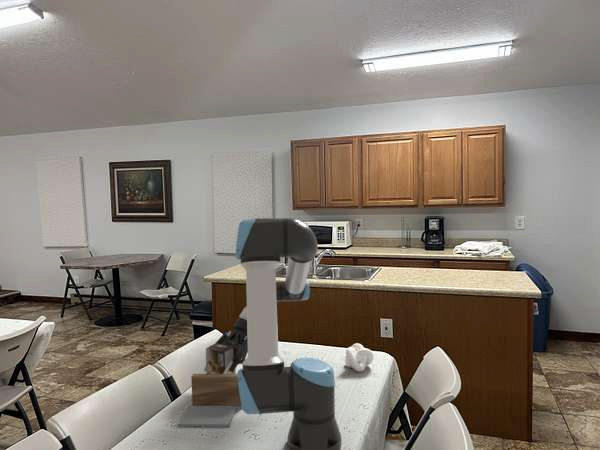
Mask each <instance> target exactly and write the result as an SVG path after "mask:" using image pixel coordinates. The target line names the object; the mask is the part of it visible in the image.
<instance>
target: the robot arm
mask: <svg viewBox="0 0 600 450" xmlns="http://www.w3.org/2000/svg"><path fill="white" fill-rule="evenodd" d="M237 228H238V229H237V235H236V242H235V243H236V244H235V259H237V260H240V266H241V267H242V268H243V269H244V270H245V278H246V279H245V281H246V282H245V284H246V285H245V286H246V289H245V290H246V306H245V307H243V310H242V311H241V313H240V314H239V317H238V318H237V319H236V321H235V322H234V324H233V329H232V330H229V329H228V328H227V329H226V330H225V331H224V332H223V334H222V335H221V336H220V337H219V339H218V340H217V341H216V342H215V343H214V344H216V343H217V344H223V345H228V346H233V345H235V346H234V347H235V352H234V358H233V360H232V361H230V363H229V365H228V366H227V368H226V370H225V371H224V373H223V374H231V373H233V372H234V370H235V368H236V369H237V366H238V365H242V368H240V369H238V370H237V373H236V374H237V375H238V385H239V393H240V399H241V405H240V406H241V408H242V410H243V412H244V414H246V415H259V416H261V415H262V414H276V413H289V412H290V413H291V412H292V414H293V418H292V421H291V423H290V427H289V429H288V430H289V431H288V433H287V447H288V450H341V448H342V433H341V431H340V427H339V425H338V423H337V419H336V414H335V413H336V411H335V409H336V408H335V407H336V404H335V403H336V401H335V385H336V381H335V380H336V379H335V371H334V369H333V366H331V364H329V363H328V362H326V361H324V360H321V359H319V358H313V357H300V358H296V359H294V360H293V364H292V363H291V364H292V367H290V366H285V360H284V359H283V358H282V357H281V355H279V339H278V338H279V336H278V334H279V333H278V331H279V330H278V329H279V328H278V308H277V307H278V303H279V302H302V301H307V300H309V298H310V295H311V294H310V292H311V288H310V283H309V281H308V280H307V279H308V276H309V271H310V268H311V264H312V261H313V260H314V259H315V258H316V256H317V252H318V249H319V247H318V246H319V245H318V240H317V238H316V235H315V233H314V232H313V230H312V228H310V226H308V225H307V224H306V223H304V222H303V221H301V220H299V219H296V218H292V217H286V218H285V217H284V218H277V217H275V218H274V217H273V218H269V217H268V218H256V217H255V218H250V219H249V218H248V219H242V220H241V221H240V222H239V225H238V227H237ZM281 258H287V266H286V273H285V279H284V280H281V281H280V280H278V281H277V274H276V273H277V272H276V270H277V268H278V267H280V265H281ZM277 302H278V303H277ZM233 361H234V362H233ZM202 370H203V371H204V372H206V373H207V370H206V364H205V365H204V367H203V368H202Z"/></svg>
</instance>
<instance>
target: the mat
mask: <svg viewBox="0 0 600 450" xmlns="http://www.w3.org/2000/svg"><path fill="white" fill-rule="evenodd" d="M236 411H237V406H199V405H192V406H188V407H187V408H186V410H185V412H184V413H183V415H182V416H181V418H180V419H179V421H178V422H177V427H178V426H203V427H202V428H229V427H230V426H231V424H232V421H233V418H234V417H235V413H236Z"/></svg>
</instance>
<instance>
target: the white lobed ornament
mask: <svg viewBox="0 0 600 450" xmlns="http://www.w3.org/2000/svg"><path fill="white" fill-rule="evenodd" d="M374 358H375V357H374V353H373V351H372V350H371V349H369V348H366V347H364V346H363V345H362V344H361V343H357V342H356V343H354V344H352V345H351V346H349V347H347V348H346V350H345V360H344V363H345V366H346V367H348V368H349V369H350V368H351V369H353V370H354V371H356V372H358V373H361V372H363V371H365V369H366V367H367V366H370V364H372V362H373V361H374Z"/></svg>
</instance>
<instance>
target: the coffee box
mask: <svg viewBox="0 0 600 450" xmlns="http://www.w3.org/2000/svg"><path fill="white" fill-rule="evenodd" d="M215 343H216V342H215ZM215 343H213V344H211V345H209V346H207V347H206V348H205V363H206V364H205V365H206V370H207V372H206V374H223V373H224V371H225V370H226V368H227V366H228V365H229V363H230V361H232V360H233V358H234V352H235V346H233V345H230V346H228V345H223V344H217V343H216V344H215ZM233 362H234V361H233ZM236 369H237V367H236V368H235V370H234V372H233V373H231V374H237V373H236Z"/></svg>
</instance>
